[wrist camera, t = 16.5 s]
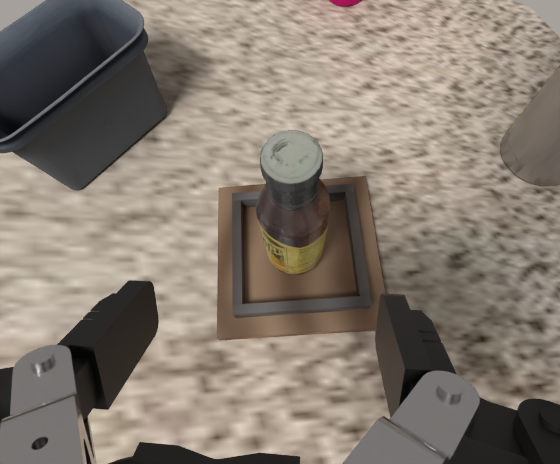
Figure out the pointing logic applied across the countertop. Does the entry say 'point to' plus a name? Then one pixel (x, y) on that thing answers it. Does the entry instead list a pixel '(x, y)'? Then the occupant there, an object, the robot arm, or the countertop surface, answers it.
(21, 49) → the storage bin
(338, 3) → the pepper mill
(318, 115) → the countertop surface
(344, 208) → the socket board
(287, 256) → the sauce bottle
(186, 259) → the countertop surface
